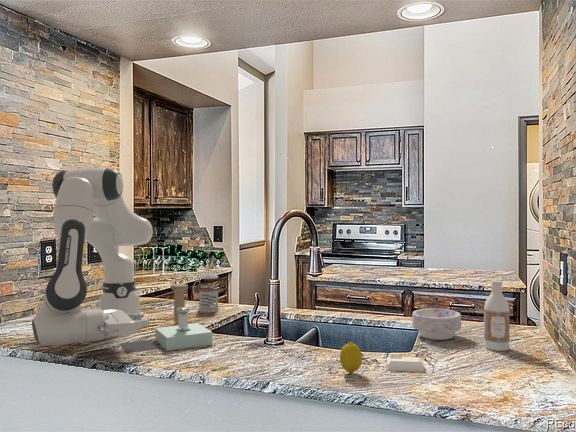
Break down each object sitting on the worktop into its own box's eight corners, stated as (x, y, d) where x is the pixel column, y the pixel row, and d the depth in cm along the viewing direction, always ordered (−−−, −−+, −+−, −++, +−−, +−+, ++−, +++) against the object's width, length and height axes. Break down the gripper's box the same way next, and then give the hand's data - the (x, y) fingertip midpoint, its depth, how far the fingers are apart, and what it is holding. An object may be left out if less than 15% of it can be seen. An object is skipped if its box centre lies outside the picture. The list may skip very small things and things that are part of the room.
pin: (175, 342, 155) (175, 307, 155) (187, 340, 157) (187, 306, 157) (179, 345, 151) (178, 310, 151) (191, 343, 153) (191, 308, 153)
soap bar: (424, 373, 125) (424, 362, 125) (388, 371, 126) (388, 361, 126) (421, 367, 130) (421, 356, 130) (386, 365, 131) (386, 355, 131)
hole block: (155, 340, 157) (155, 328, 157) (197, 334, 164) (197, 322, 164) (167, 351, 145) (167, 337, 145) (212, 344, 151) (212, 331, 151)
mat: (119, 344, 152) (119, 343, 152) (151, 340, 157) (151, 339, 157) (126, 354, 142) (126, 353, 142) (161, 349, 147) (161, 348, 147)
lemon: (338, 370, 126) (337, 339, 126) (359, 369, 127) (359, 338, 127) (342, 377, 121) (342, 345, 121) (364, 377, 121) (364, 344, 121)
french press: (218, 312, 201) (218, 250, 201) (190, 312, 201) (190, 251, 201) (222, 307, 211) (222, 249, 211) (195, 307, 211) (194, 249, 211)
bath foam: (485, 350, 144) (485, 282, 143) (483, 344, 150) (483, 279, 150) (511, 352, 142) (510, 283, 141) (507, 346, 148) (507, 279, 148)
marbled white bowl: (403, 337, 159) (403, 312, 159) (425, 328, 170) (425, 306, 170) (448, 345, 149) (448, 319, 149) (469, 336, 160) (469, 312, 160)
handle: (181, 329, 171) (181, 286, 171) (168, 327, 175) (167, 285, 174) (191, 326, 175) (190, 284, 175) (177, 324, 179) (177, 283, 179)
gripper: (101, 320, 132) (152, 315, 139) (91, 308, 150) (137, 303, 157) (101, 344, 132) (153, 337, 139) (91, 328, 150) (137, 323, 157)
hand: (144, 319), depth 148 cm, fingers open, 8 cm apart
